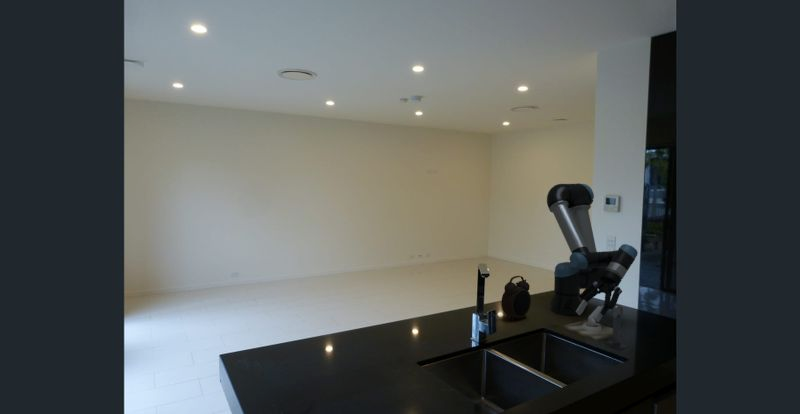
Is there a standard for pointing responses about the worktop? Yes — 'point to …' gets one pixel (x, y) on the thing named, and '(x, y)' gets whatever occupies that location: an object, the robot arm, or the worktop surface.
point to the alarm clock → (516, 298)
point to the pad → (595, 336)
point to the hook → (592, 322)
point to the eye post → (617, 328)
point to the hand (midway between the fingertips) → (586, 316)
